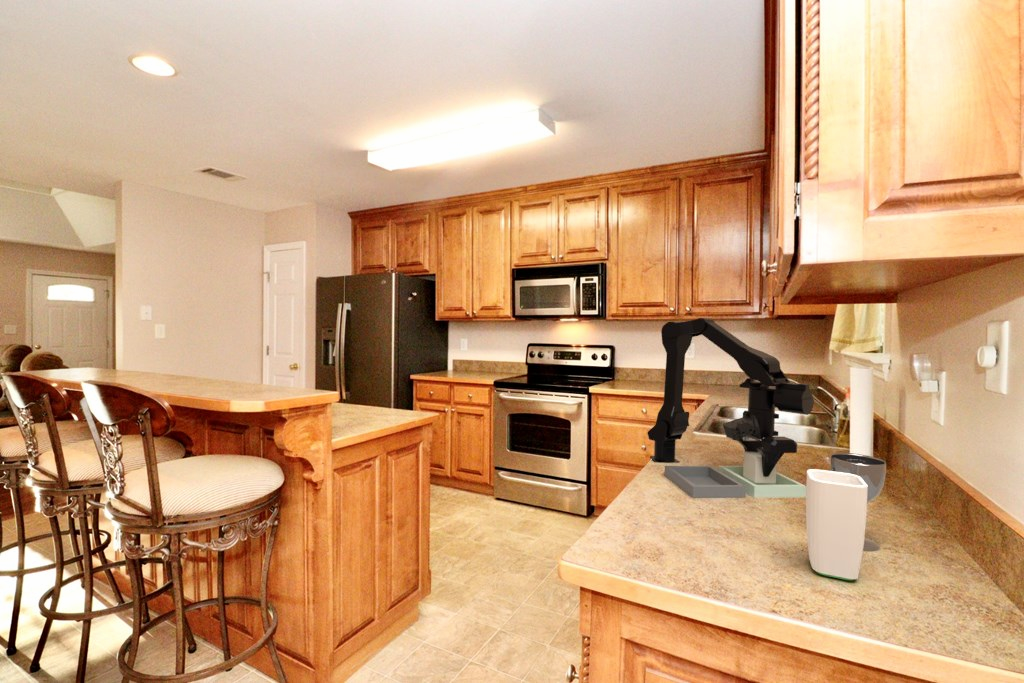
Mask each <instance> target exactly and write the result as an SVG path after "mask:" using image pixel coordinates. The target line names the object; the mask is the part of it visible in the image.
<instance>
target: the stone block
mask: <svg viewBox="0 0 1024 683" xmlns="http://www.w3.org/2000/svg"><path fill="white" fill-rule="evenodd" d="M742 466H743V476H744V477H745V478H747V479H749V480H751V481H753V482H754V483H776V472H777V464H776V465H775V467H774V469H773V470H772V472H771V473H770V475H769V476H768V477H764V476H763V470H762V456H761V453H760V452H745V451H744V452H743V465H742Z"/></svg>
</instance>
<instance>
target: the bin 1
mask: <svg viewBox="0 0 1024 683" xmlns="http://www.w3.org/2000/svg"><path fill="white" fill-rule="evenodd" d="M664 477H666V478H667V479H668V481H671V482H672V483H673V484H674V485H676V486H677V487H678V488H679V489H681V490H682V491H683V492H685V493H686V494H687V495H688V496H690V497H691V498H692V499H746V495H747V493H746V486H744V485H743V484H741V483H739V482H738V481H736V480H734V479H733V478H731V477H729V476H727V475H726V474H724V473H722V472H721V471H719V470H718V468H716V467H714V466H712V465H664Z"/></svg>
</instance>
